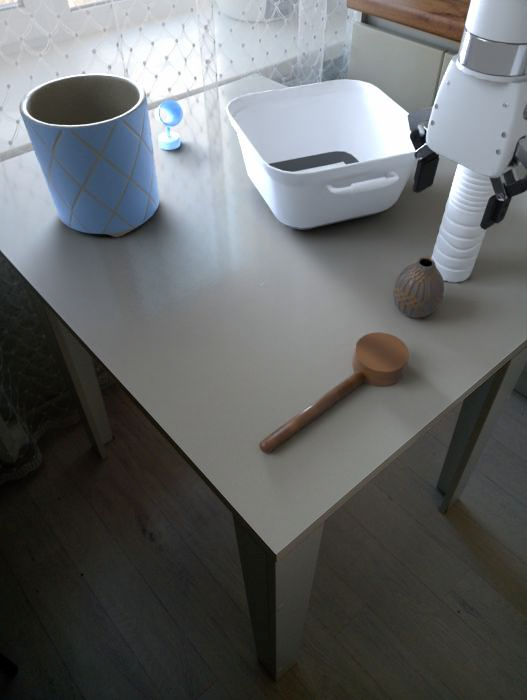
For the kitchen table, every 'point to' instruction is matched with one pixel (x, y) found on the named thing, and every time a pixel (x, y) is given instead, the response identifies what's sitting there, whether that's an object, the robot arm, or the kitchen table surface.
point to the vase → (419, 288)
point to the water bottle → (462, 225)
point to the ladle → (352, 380)
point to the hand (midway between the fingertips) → (454, 205)
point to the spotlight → (169, 124)
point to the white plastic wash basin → (324, 150)
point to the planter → (94, 150)
